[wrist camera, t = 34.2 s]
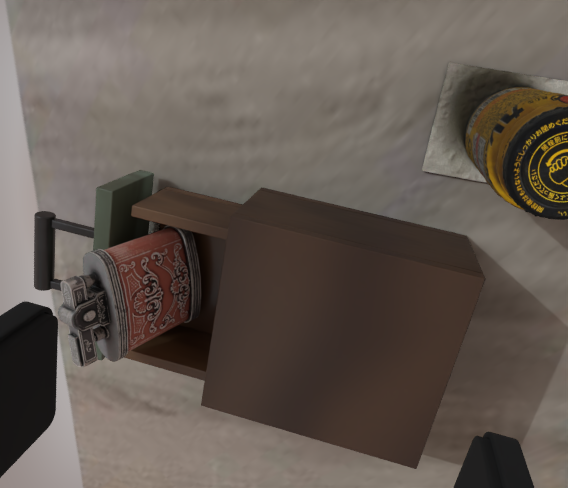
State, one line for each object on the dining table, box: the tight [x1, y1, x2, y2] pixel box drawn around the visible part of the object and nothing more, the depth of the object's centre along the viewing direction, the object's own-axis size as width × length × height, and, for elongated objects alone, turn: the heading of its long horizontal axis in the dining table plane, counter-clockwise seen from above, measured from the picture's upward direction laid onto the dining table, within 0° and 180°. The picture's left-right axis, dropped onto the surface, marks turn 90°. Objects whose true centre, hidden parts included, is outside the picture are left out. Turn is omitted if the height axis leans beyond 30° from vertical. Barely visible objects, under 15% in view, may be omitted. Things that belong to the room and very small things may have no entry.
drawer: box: [34, 170, 242, 381], centre depth 38 cm, size 20×13×6 cm, turn 80°
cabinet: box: [201, 188, 485, 469], centre depth 37 cm, size 16×15×8 cm
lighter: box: [58, 225, 201, 367], centre depth 36 cm, size 8×3×10 cm, turn 1°
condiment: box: [422, 63, 568, 220], centre depth 29 cm, size 7×8×12 cm
